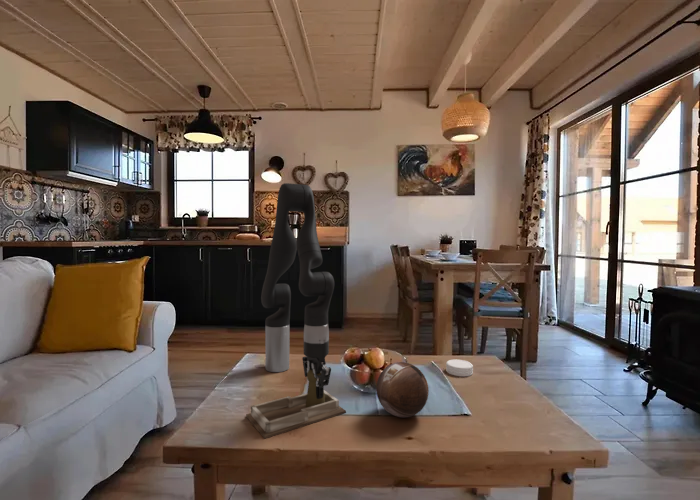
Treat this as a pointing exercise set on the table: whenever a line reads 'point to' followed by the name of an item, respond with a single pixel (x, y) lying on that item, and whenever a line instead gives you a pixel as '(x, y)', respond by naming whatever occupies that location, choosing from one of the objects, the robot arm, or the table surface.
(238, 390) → the table surface
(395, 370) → the wooden sphere
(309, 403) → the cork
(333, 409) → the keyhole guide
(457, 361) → the white disc
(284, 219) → the robot arm
